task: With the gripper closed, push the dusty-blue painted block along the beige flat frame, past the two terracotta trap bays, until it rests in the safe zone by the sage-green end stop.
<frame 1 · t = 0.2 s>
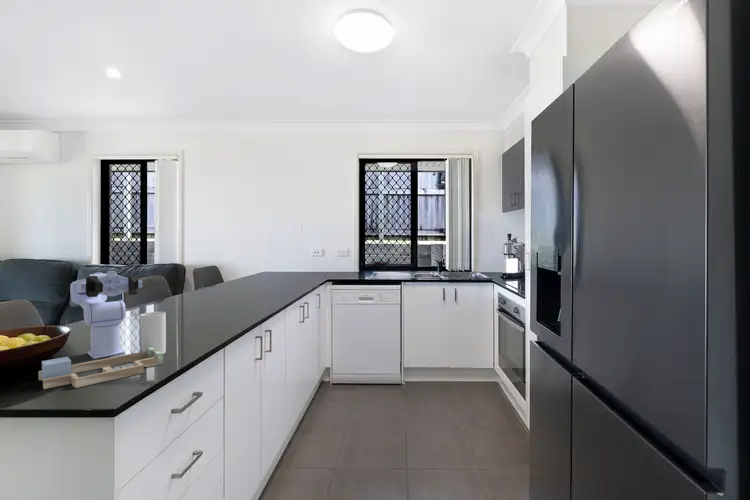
hand: (118, 286, 106), 22 cm above the countertop, tool horizontal, fingers open, 7 cm apart
beige flat frame: (101, 371, 103), on the countertop
block: (57, 381, 97), on the countertop
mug: (155, 353, 121), on the countertop
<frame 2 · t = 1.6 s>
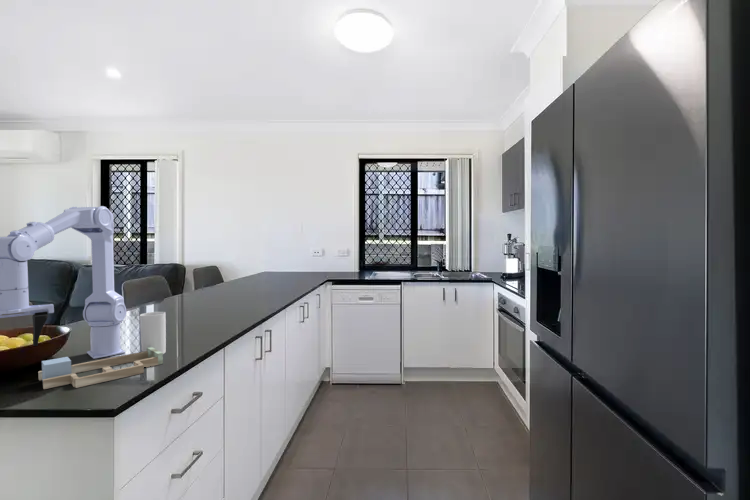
hand: (14, 348, 91), 9 cm above the countertop, tool pointing down, fingers open, 7 cm apart
nothing on the countertop moved.
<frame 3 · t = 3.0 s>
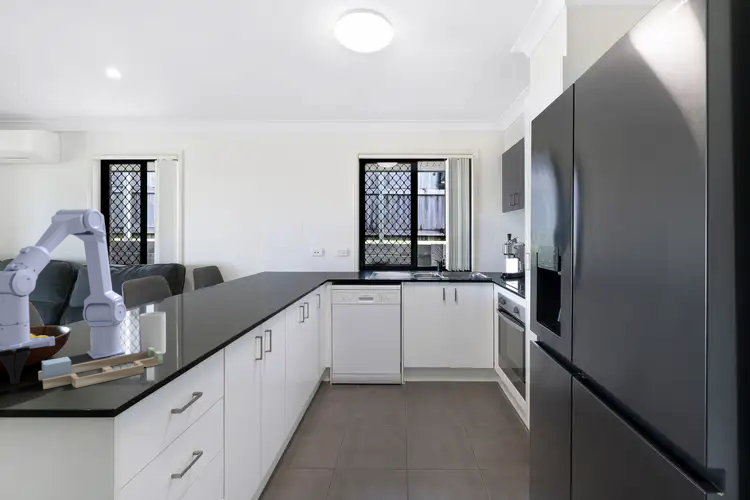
hand: (15, 382, 92), 2 cm above the countertop, tool pointing down, fingers closed
nothing on the countertop moved.
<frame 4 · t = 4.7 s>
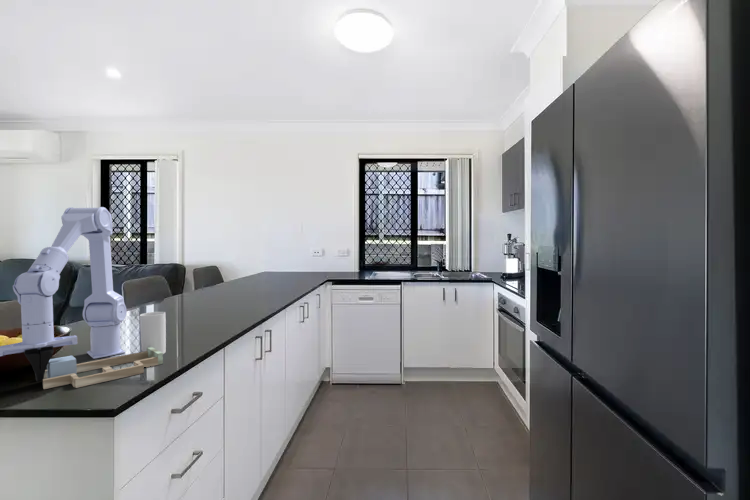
hand: (39, 380, 95), 1 cm above the countertop, tool pointing down, fingers closed
block: (62, 379, 98), on the countertop, touching gripper
everything else where it was.
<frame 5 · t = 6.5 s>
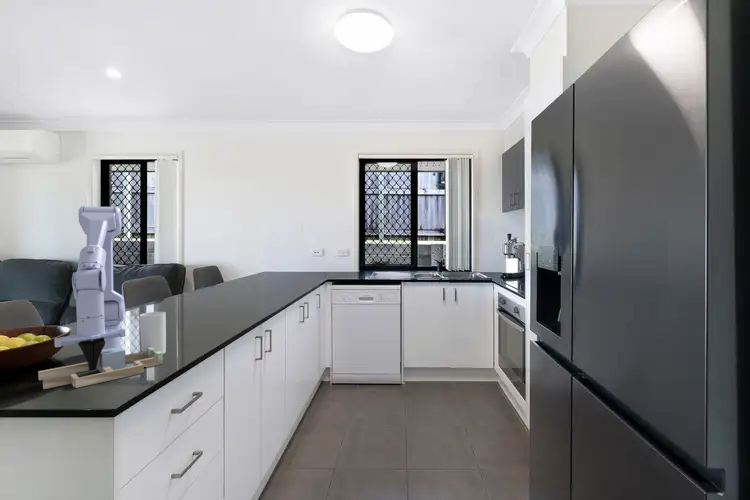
hand: (92, 369, 102), 1 cm above the countertop, tool pointing down, fingers closed
block: (112, 369, 105), on the countertop, touching gripper
everything else where it was.
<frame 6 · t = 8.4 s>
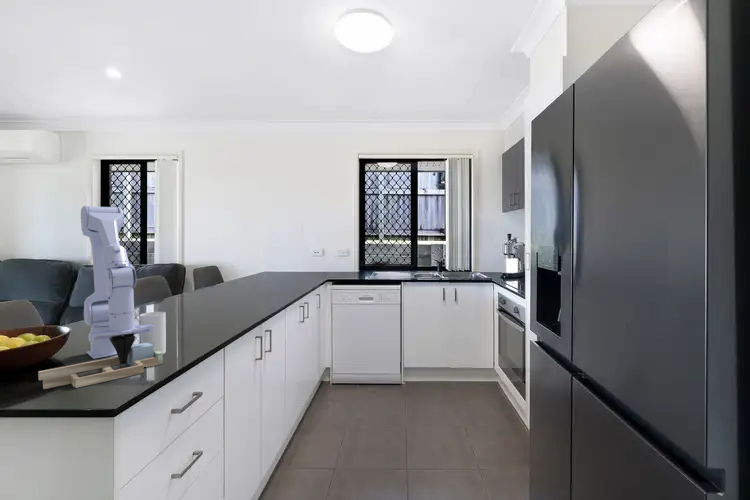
hand: (123, 363, 107), 1 cm above the countertop, tool pointing down, fingers closed
block: (140, 363, 110), on the countertop, touching gripper
everything else where it was.
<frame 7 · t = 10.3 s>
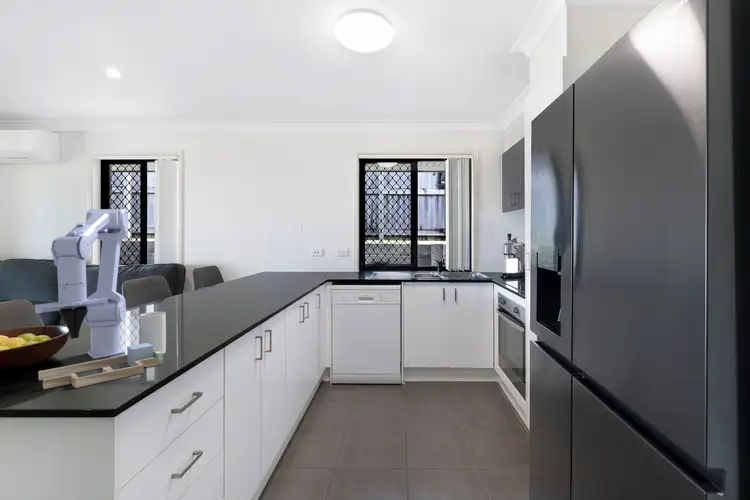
hand: (74, 337, 101), 9 cm above the countertop, tool pointing down, fingers closed
block: (140, 364, 110), on the countertop
everything else where it was.
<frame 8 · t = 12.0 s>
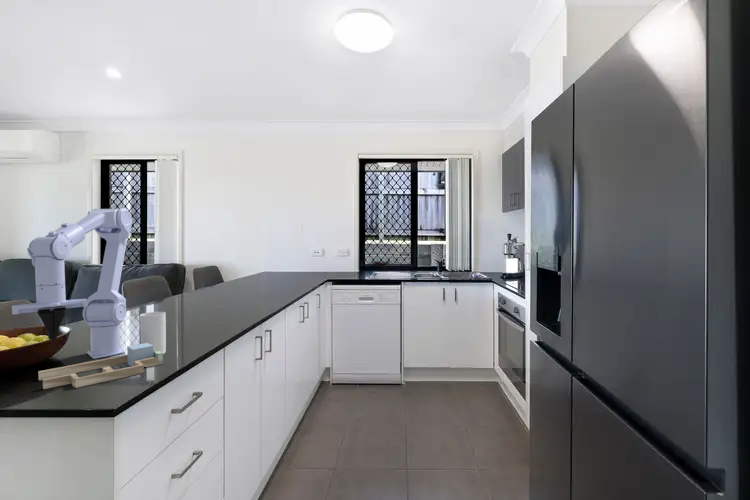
hand: (52, 338, 100), 9 cm above the countertop, tool pointing down, fingers closed
nothing on the countertop moved.
at the end: block inside the target area (0.3 cm from its centre), on the countertop; block tilted 0° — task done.
